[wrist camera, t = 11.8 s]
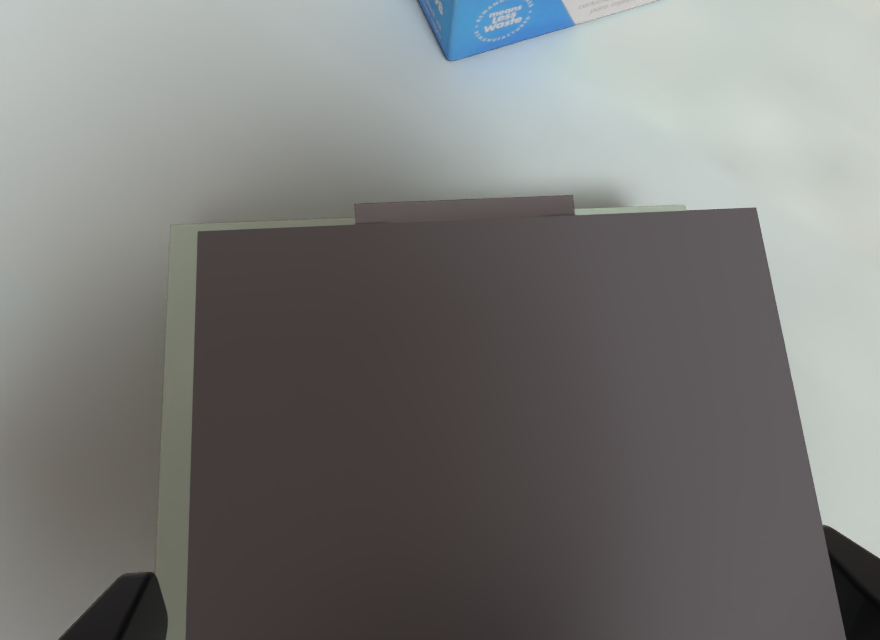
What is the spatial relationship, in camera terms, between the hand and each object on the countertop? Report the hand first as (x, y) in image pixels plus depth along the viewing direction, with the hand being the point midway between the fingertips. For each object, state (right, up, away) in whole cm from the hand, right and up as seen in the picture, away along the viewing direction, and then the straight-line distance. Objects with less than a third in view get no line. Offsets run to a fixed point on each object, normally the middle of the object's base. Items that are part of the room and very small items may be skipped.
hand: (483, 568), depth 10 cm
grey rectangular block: (0, -1, +8) cm, 8 cm away
